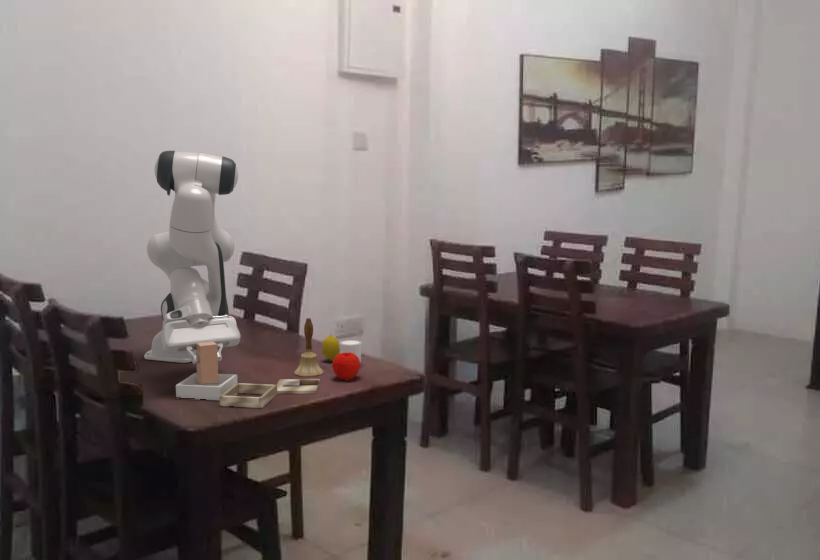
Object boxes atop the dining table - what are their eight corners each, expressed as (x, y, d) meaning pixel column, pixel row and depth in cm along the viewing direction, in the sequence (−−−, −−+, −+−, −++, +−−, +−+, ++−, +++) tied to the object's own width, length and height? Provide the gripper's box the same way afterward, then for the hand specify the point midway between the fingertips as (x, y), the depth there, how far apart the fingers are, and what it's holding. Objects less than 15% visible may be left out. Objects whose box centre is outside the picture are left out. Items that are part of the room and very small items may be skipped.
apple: (349, 373, 239) (349, 347, 238) (366, 378, 233) (366, 352, 232) (326, 378, 234) (326, 352, 232) (343, 384, 228) (343, 357, 227)
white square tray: (176, 398, 215) (175, 385, 214) (195, 385, 226) (194, 372, 226) (220, 400, 213) (220, 387, 212) (237, 387, 225) (237, 374, 224)
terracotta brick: (197, 380, 220) (195, 342, 218) (213, 377, 222) (212, 340, 220) (201, 383, 216) (200, 346, 214) (218, 381, 218) (217, 344, 216)
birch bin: (219, 406, 208) (219, 396, 208) (237, 392, 220) (236, 383, 220) (262, 408, 207) (261, 398, 206) (277, 394, 218) (277, 384, 218)
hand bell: (327, 370, 242) (326, 316, 240) (318, 377, 234) (317, 321, 232) (300, 368, 244) (299, 314, 241) (290, 376, 236) (288, 320, 233)
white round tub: (339, 362, 250) (338, 339, 249) (362, 362, 251) (361, 339, 250) (339, 368, 244) (338, 345, 242) (362, 368, 244) (362, 344, 243)
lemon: (337, 363, 249) (337, 337, 248) (319, 362, 250) (319, 336, 249) (342, 359, 254) (342, 333, 253) (325, 358, 255) (324, 332, 254)
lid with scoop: (273, 393, 219) (273, 385, 218) (279, 382, 229) (279, 374, 229) (316, 393, 219) (316, 385, 218) (320, 381, 230) (320, 374, 229)
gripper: (231, 321, 232) (243, 362, 225) (156, 328, 222) (166, 372, 215) (236, 307, 227) (248, 350, 220) (159, 314, 217) (170, 359, 210)
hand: (207, 361), depth 217 cm, fingers closed on terracotta brick, 4 cm apart
